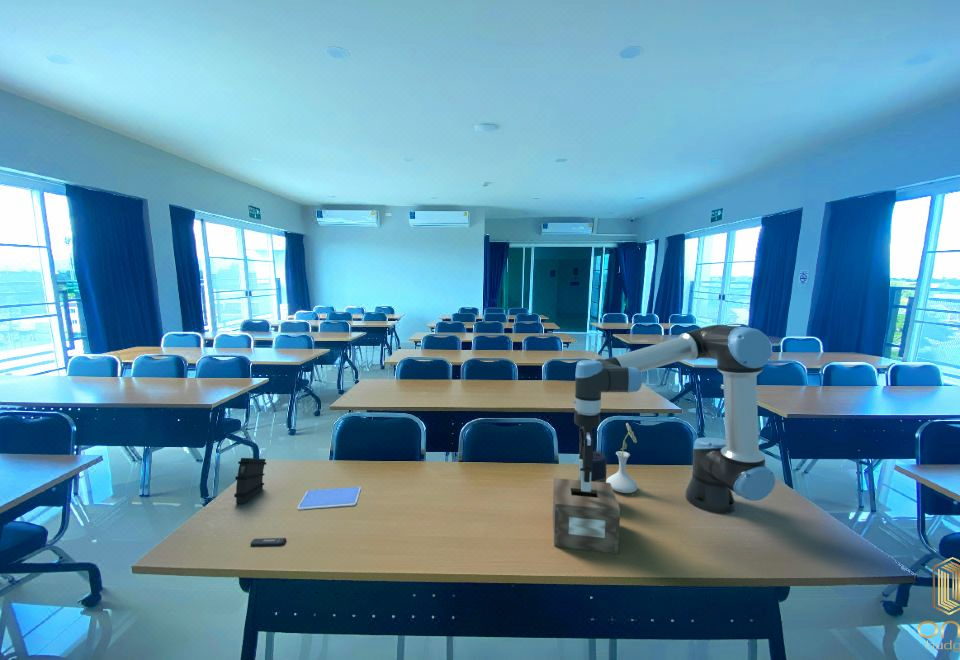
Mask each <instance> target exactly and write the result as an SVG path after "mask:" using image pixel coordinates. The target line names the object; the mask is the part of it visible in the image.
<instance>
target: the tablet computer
mask: <svg viewBox="0 0 960 660" xmlns="http://www.w3.org/2000/svg"><path fill="white" fill-rule="evenodd" d="M361 490H362V489H361V486H353V487H352V486H351V487H339V488H325V489H324V488H321V489H311V490H310V489H309V490H307V491H306V492H305V495H304V496H303V497H302V499H301V501H300V503H299V504H298V506H297V511H303V510H314V509H324V508H325V509H328V508H340V507H353V506H356V505H357V503H358V501H359V497H360V494H361Z"/></svg>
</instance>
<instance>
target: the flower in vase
mask: <svg viewBox="0 0 960 660" xmlns="http://www.w3.org/2000/svg"><path fill="white" fill-rule="evenodd" d="M625 426H626V429H627V431H628V432H627V434H626V435H625V437H624V439H623V442H622V448H620V451H616V452H615V455H617V458H618V463H619V464H618V471H616V473H614V474H612V475H610V476H609V477H606V483H610V484H611V486H612V489H613V491H615V492H617V493H621V494H622V493H623V494H630V493H634V492H636V491H637V490H638V484H637V482H636V481H635V480H634V479H633V478H632V477H631V476H629V474H628V473H627V471H626V465H627V461H628V459H629V457H630V456H631V454H630V452H627V451H624V450H627V449H628V448H627V447H628V444H627V443H626V439H627V437H629V436H630V438H631V440H632V441H633V443H635V444H636V443H637V442H638V441H637V438H636V436H635V435H634V434H635V433H634V431H632V427H631V425H630V424H629V423H628V422H627V423H625ZM621 450H622V451H621Z"/></svg>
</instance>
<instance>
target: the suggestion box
mask: <svg viewBox="0 0 960 660" xmlns="http://www.w3.org/2000/svg"><path fill="white" fill-rule="evenodd" d="M552 489H553V497H552V499H553V500H552V528H553V531H552V532H553V546H554V547H558V548H568V549H577V550H585V551H591V550H592V551H594V552H600V551H601V552H602V553H609V552H610V554H616V555H617V554H619V545H620V526H621V523H620V521H621V509H620V506H619V503H618V500H617V498H616V494H615V492H614V490H613V489H612V486H611V484H610V483H605V482H594V481H591V492H585V491H581V480H579V479H571V478H570V479H568V478H558V477H553V488H552Z"/></svg>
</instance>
